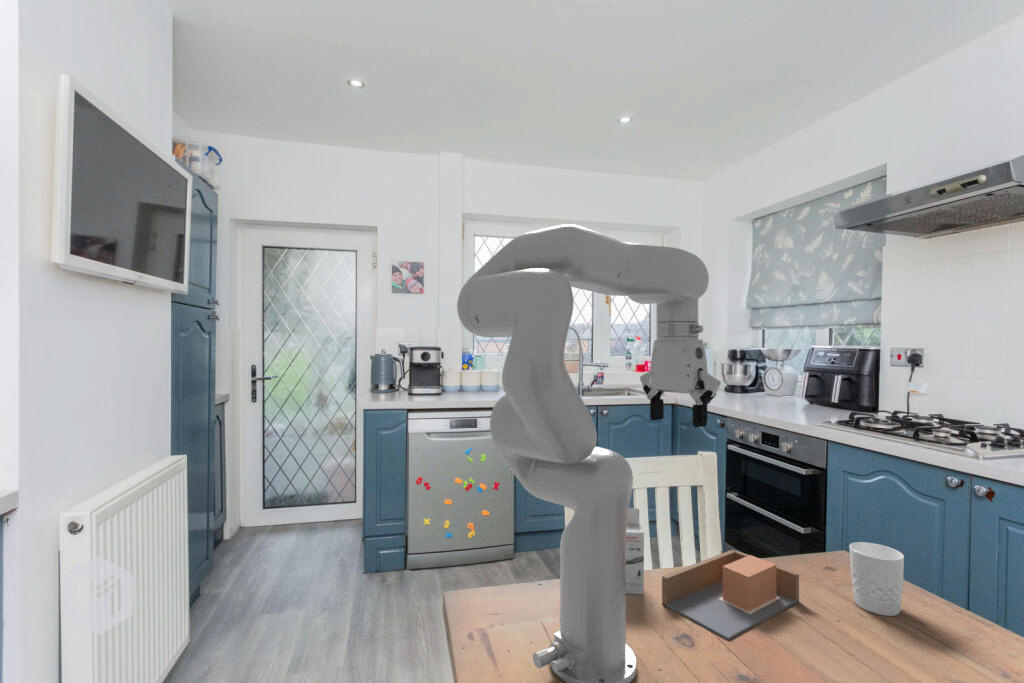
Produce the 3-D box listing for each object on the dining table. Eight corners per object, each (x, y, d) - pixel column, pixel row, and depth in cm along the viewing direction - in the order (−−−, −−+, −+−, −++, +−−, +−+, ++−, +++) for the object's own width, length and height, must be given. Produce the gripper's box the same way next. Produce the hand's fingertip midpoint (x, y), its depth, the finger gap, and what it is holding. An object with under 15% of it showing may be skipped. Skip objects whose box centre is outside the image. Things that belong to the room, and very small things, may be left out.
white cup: (915, 613, 85) (914, 555, 85) (886, 622, 82) (885, 563, 82) (867, 592, 92) (867, 539, 93) (839, 599, 89) (839, 545, 90)
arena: (728, 640, 77) (728, 608, 77) (662, 604, 88) (662, 576, 88) (799, 601, 89) (798, 573, 89) (733, 573, 100) (733, 549, 100)
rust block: (776, 597, 89) (776, 564, 89) (748, 611, 84) (748, 577, 84) (750, 586, 93) (750, 555, 94) (722, 599, 89) (722, 566, 89)
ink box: (598, 593, 92) (598, 514, 92) (596, 580, 97) (596, 506, 97) (644, 595, 91) (644, 516, 91) (640, 582, 96) (640, 507, 96)
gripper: (731, 331, 87) (731, 427, 86) (654, 334, 101) (654, 416, 101) (705, 330, 82) (705, 431, 82) (629, 333, 97) (629, 418, 97)
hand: (677, 422), depth 91 cm, fingers open, 9 cm apart
